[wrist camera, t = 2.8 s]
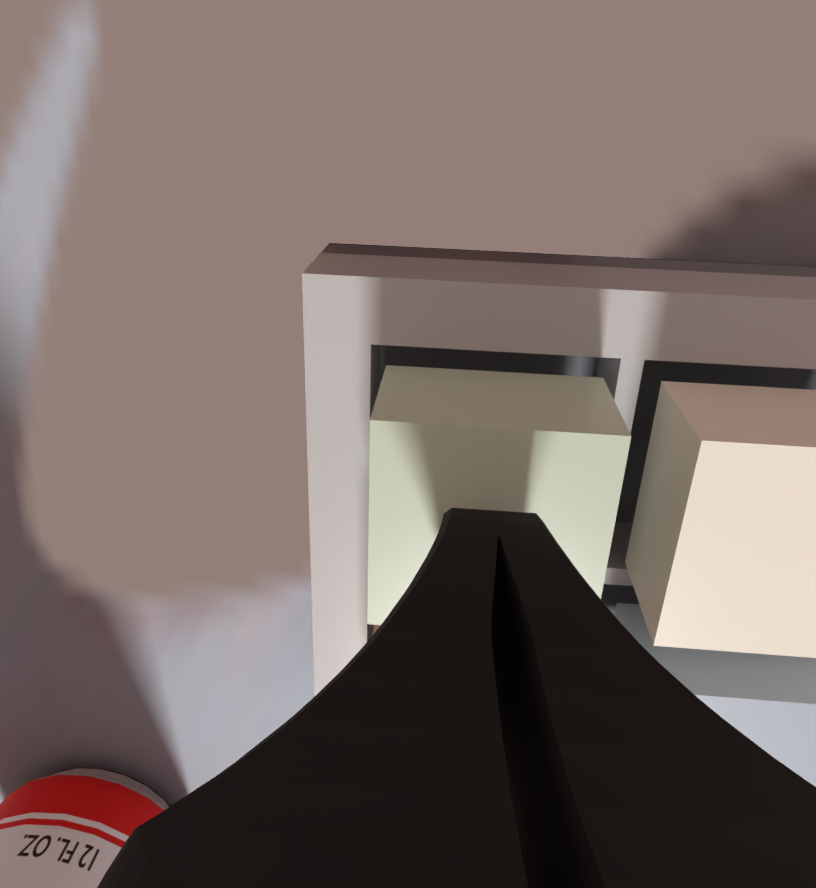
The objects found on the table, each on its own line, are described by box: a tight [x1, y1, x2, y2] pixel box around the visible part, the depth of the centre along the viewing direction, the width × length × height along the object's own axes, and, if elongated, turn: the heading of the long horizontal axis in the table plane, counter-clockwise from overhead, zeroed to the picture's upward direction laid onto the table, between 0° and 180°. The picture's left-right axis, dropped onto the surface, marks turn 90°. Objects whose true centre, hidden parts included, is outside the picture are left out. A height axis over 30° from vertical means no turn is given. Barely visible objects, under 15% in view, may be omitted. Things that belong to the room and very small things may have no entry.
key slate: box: [614, 603, 816, 787], centre depth 14 cm, size 4×4×2 cm
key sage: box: [367, 365, 631, 625], centre depth 12 cm, size 4×4×2 cm
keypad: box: [302, 243, 816, 696], centre depth 16 cm, size 12×12×3 cm
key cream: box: [625, 381, 816, 658], centre depth 12 cm, size 4×4×2 cm
